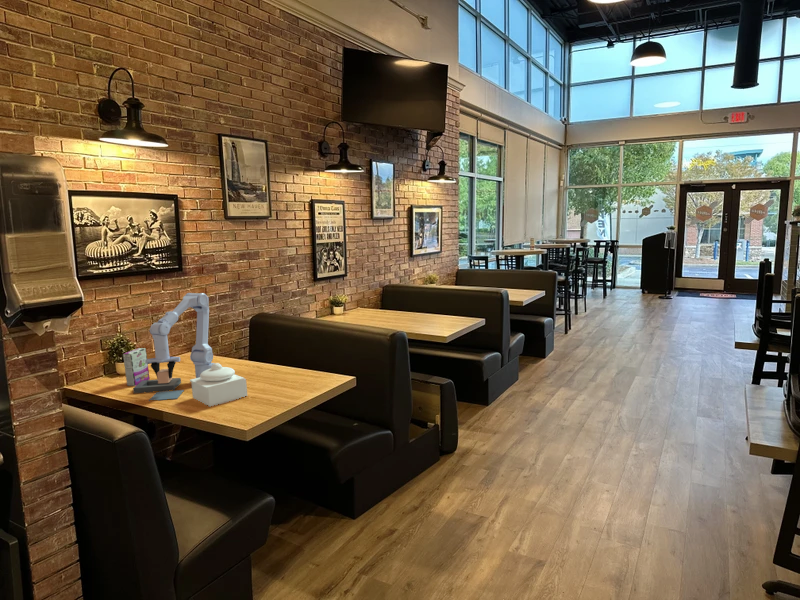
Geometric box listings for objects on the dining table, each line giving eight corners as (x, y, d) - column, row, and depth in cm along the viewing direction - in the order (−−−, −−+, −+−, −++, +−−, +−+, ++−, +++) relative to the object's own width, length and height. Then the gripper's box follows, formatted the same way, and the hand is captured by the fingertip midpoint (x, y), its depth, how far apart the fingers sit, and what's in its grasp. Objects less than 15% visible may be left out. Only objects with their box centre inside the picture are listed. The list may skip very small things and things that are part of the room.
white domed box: (247, 396, 237) (244, 362, 234) (208, 407, 224) (205, 371, 222) (229, 389, 249) (226, 356, 247) (191, 398, 237) (188, 364, 235)
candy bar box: (141, 379, 271) (137, 347, 268) (150, 379, 270) (146, 348, 267) (126, 386, 260) (122, 353, 257) (135, 386, 259) (131, 353, 256)
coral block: (172, 379, 244) (171, 368, 244) (168, 382, 238) (167, 372, 238) (162, 379, 244) (161, 369, 243) (158, 383, 238) (156, 372, 237)
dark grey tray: (181, 382, 262) (180, 377, 261) (173, 390, 250) (173, 385, 249) (142, 385, 259) (142, 380, 259) (133, 393, 247) (133, 388, 247)
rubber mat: (184, 390, 248) (183, 389, 248) (176, 399, 237) (176, 398, 237) (157, 392, 247) (157, 391, 247) (148, 401, 235) (148, 400, 235)
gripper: (141, 352, 234) (145, 381, 236) (176, 349, 236) (179, 379, 238) (147, 348, 241) (150, 377, 243) (180, 346, 242) (183, 374, 244)
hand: (164, 378), depth 241 cm, fingers closed on coral block, 4 cm apart
